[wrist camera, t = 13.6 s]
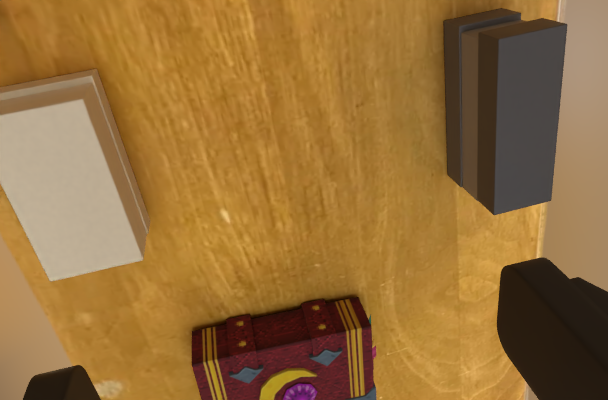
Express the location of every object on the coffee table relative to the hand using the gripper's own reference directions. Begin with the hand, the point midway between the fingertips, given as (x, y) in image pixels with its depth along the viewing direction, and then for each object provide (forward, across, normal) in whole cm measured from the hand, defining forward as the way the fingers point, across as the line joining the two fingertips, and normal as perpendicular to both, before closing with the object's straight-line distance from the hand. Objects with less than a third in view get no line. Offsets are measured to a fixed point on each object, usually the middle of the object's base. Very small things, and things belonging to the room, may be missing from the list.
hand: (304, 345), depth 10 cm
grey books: (+27, -17, +7) cm, 33 cm away
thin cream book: (+23, +11, +6) cm, 27 cm away
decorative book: (+27, 0, +28) cm, 39 cm away
